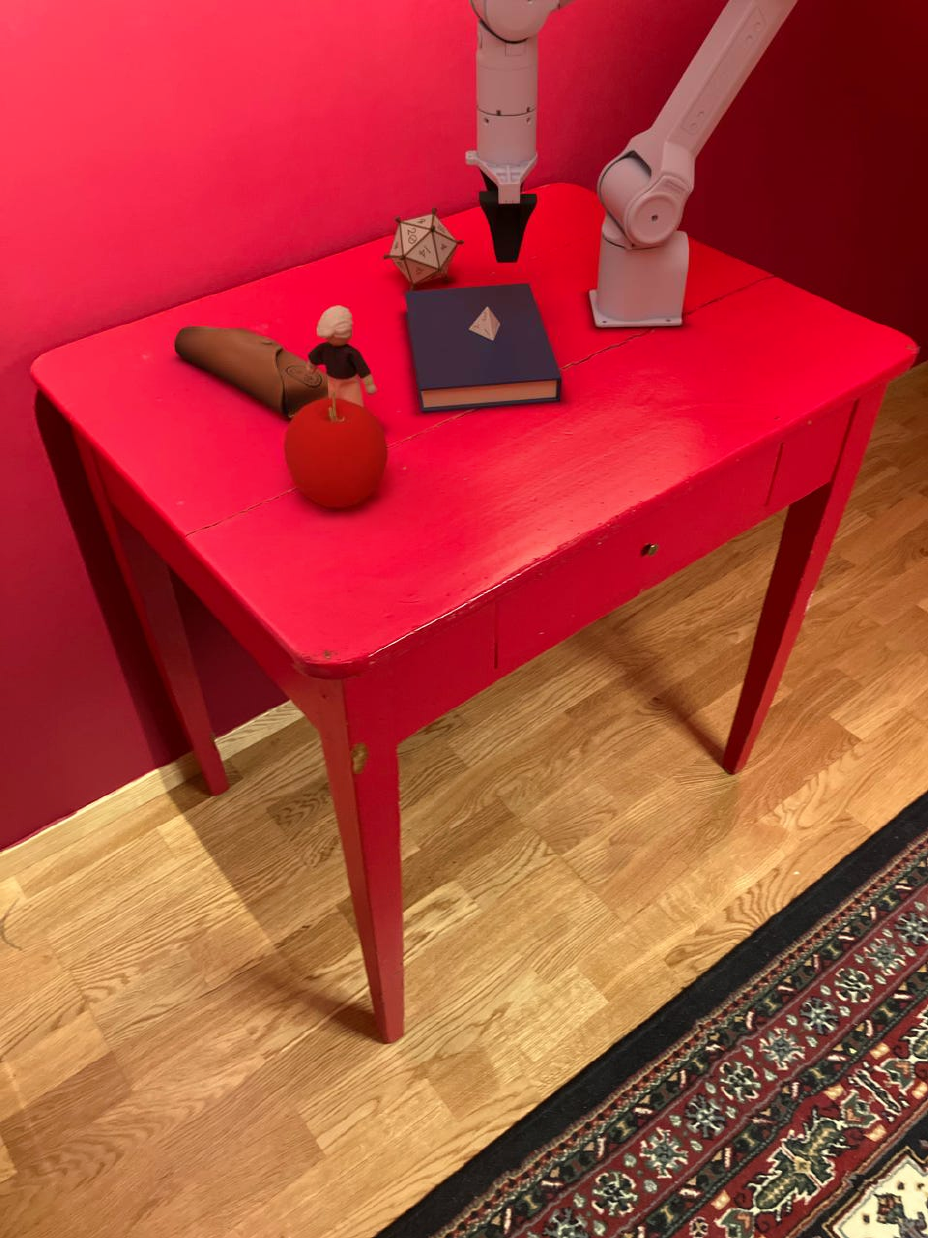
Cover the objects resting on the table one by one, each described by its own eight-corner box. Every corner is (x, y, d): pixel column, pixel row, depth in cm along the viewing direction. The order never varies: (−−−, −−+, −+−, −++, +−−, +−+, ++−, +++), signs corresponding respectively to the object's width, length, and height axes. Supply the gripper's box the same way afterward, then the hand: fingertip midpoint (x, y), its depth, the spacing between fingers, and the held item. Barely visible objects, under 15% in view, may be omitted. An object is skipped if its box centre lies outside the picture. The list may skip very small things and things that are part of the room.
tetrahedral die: (509, 339, 107) (516, 311, 106) (492, 341, 105) (499, 312, 104) (485, 328, 109) (491, 300, 107) (468, 329, 107) (474, 301, 105)
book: (528, 305, 116) (529, 282, 114) (560, 401, 102) (561, 377, 100) (405, 314, 115) (404, 291, 113) (421, 412, 101) (419, 388, 99)
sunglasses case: (348, 383, 104) (316, 346, 98) (307, 439, 103) (273, 405, 98) (237, 326, 113) (202, 289, 107) (199, 377, 112) (162, 342, 107)
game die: (439, 315, 122) (462, 272, 113) (370, 292, 121) (388, 246, 111) (453, 251, 125) (477, 204, 115) (387, 227, 123) (405, 177, 113)
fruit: (412, 490, 92) (405, 395, 85) (334, 537, 88) (321, 440, 81) (346, 449, 97) (335, 355, 90) (269, 491, 93) (251, 396, 86)
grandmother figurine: (392, 423, 100) (382, 303, 91) (377, 445, 97) (365, 324, 88) (320, 410, 102) (304, 291, 93) (304, 431, 99) (285, 311, 90)
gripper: (463, 81, 102) (466, 215, 111) (465, 134, 92) (468, 277, 101) (534, 79, 102) (530, 214, 111) (544, 132, 92) (539, 276, 101)
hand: (505, 244), depth 106 cm, fingers open, 7 cm apart
